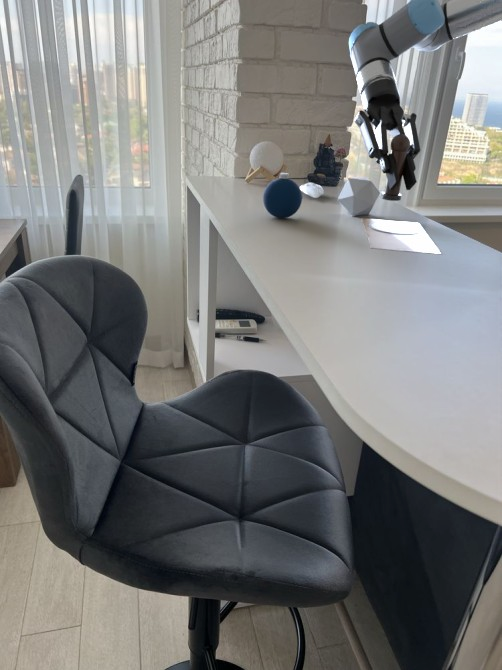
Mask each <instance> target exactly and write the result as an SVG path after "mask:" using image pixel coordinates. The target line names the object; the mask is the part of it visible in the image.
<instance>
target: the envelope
mask: <svg viewBox="0 0 502 670" xmlns="http://www.w3.org/2000/svg"><path fill="white" fill-rule="evenodd" d="M360 220H361V222H362V225H363V228H364V231H365V234H366V238H367V241H368V244H369V247H370V249H372V250H373V249H374V250H384V251H385V250H387V251H395V252H396V251H399V252H410V253H419V254H433V255H443V253H442V252H441V250H440V249H439V247H438V246H437V245H436V244H435V242H434V241H433V240H432V239H431V237H430V235H429V234H428V233H427V231H426V230H425V229H424V228H423V226H422V225H421V223H420V222H417V221H415V222H414V221H405V220H403V221H402V220H389V219H379V218H377V219H376V218H368V217H367V218H366V217H361V218H360Z"/></svg>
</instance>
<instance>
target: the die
mask: <svg viewBox="0 0 502 670" xmlns="http://www.w3.org/2000/svg"><path fill="white" fill-rule="evenodd" d="M380 194H381V192H380V190H379V189H378V188H377V187H376V185H375V184H374V182H373V181H372V180H370V179H369V178H367V177H366V176H358V177H348V178H347V179H346V182H345V183H344V186H343V187H342V190H341V192H340V193H339V195H338V197H337V199H336V200H337V201H338V202H339V203H340V205H341V206H342V207H343V208H344V209H345V210H346V211H347V213H349V214H350V215H351V216H352V217H355V216H356V217H357V216H365V215H370V213H371V212H372V210H373V207H374V205H375V204H376V202H377V200H378V199H379V196H380Z"/></svg>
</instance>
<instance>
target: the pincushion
mask: <svg viewBox="0 0 502 670" xmlns="http://www.w3.org/2000/svg"><path fill="white" fill-rule="evenodd" d="M307 178H309V175H308V176H307ZM306 180H307V179H306V178H304V179H303V181H304V183H303V184H301V185H300V186H299V188H300V190H301V192H302V193H303V194H304V195H307V196H310V197H312V198H314V199H318V198H319V197H321V196H323V195H324V189H323V187H322V186H321V185H320V184H321V182H322V181H321V180H322V179H319V182H316V183H315V180H316V179H315V178H314V180H313V182H311V181H312V180H310V182H309V181H308V182H307V183H306ZM317 183H318V184H317Z"/></svg>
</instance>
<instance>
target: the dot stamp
mask: <svg viewBox="0 0 502 670" xmlns="http://www.w3.org/2000/svg"><path fill="white" fill-rule="evenodd" d="M389 146H390V154H393V157H394V161H395V165H396V169H397V173H398V177H399V181H400V182H399V183H398V185H397V186H396V187H395V188H394V190H390V188H389V184H388V180H387V179H385V186H384V191H381V196H380V198H381V199H382V200H384V201H392V202H393V201H394V202H397V201H399V202H400V201H401V199H402V194H401V193H400V192H401V186H402V180H403V170H404V165H405V159H406V154H407V151H408V149H409V147H410V140H409V138H408V137H407V136H406V135H403V134H399V135H396V136H395V137H394V138H393V137H392V139H391V141H390V144H389Z"/></svg>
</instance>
